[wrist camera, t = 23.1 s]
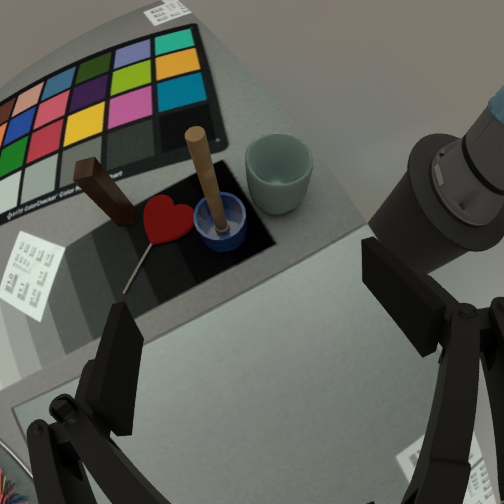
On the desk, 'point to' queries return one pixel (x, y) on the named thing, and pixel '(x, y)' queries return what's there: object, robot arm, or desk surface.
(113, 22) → the desk surface
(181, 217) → the lollipop
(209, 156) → the stick
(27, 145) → the desk surface
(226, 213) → the bowl
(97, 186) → the block
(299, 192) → the cup
